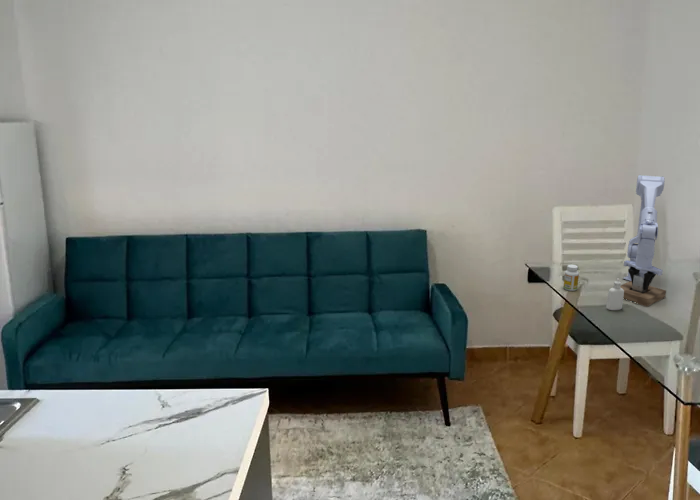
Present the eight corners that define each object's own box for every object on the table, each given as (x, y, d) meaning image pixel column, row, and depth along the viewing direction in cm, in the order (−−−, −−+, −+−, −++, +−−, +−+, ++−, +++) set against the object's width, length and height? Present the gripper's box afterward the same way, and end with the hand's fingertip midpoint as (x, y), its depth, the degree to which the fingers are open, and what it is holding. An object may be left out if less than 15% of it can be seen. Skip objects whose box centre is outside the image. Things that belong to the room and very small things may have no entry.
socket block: (631, 287, 262) (631, 280, 261) (664, 297, 251) (666, 290, 250) (612, 295, 254) (613, 288, 253) (646, 306, 243) (647, 299, 242)
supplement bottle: (575, 286, 263) (578, 264, 260) (578, 291, 258) (581, 268, 255) (562, 285, 264) (564, 263, 261) (564, 290, 259) (567, 268, 256)
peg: (636, 291, 255) (639, 272, 252) (646, 294, 252) (649, 275, 249) (631, 294, 252) (634, 274, 250) (641, 297, 249) (643, 277, 247)
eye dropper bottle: (605, 305, 245) (609, 276, 241) (621, 307, 243) (625, 277, 239) (606, 310, 241) (610, 280, 237) (622, 311, 239) (626, 281, 235)
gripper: (621, 252, 250) (617, 284, 254) (658, 261, 239) (652, 295, 244) (630, 248, 254) (626, 280, 258) (667, 257, 243) (662, 291, 248)
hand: (639, 287), depth 251 cm, fingers closed on peg, 4 cm apart
